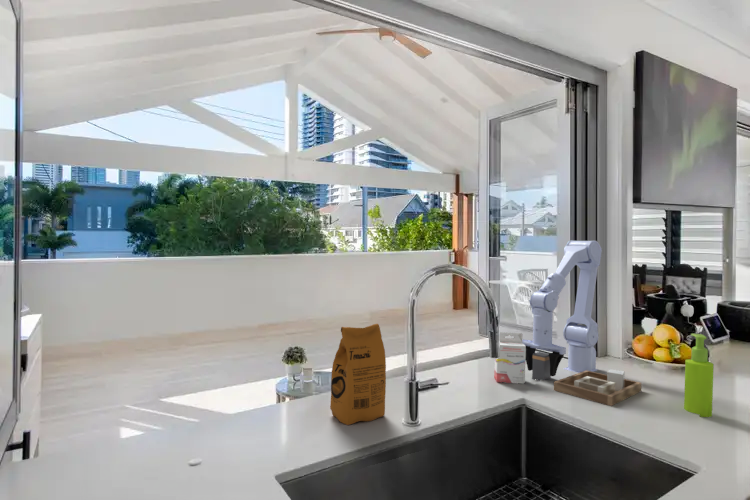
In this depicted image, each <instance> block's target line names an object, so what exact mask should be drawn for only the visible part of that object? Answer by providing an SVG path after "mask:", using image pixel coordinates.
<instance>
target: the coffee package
mask: <svg viewBox="0 0 750 500" xmlns="http://www.w3.org/2000/svg"><path fill="white" fill-rule="evenodd" d="M340 333H341V336H342V337H341V338H340V342H339V345H338V348H337V351H336V353H335V355H334V358H333V361H332V367H331V368H332V369H331V377H330V378H331V381H330V382H331V384H330V405H329V408H330V411H331V415H332V416H333V417H335V418H336V419H337V420H338V422H340V423H341V424H343V425H346V426H349V425H352V424H356V423H357V422H372V421H375V420H377V419H378V418H382V417H384V416H385V415H386V411H385V410H386V389H387V387H386V385H387V382H386V381H387V380H386V379H387V372H386V369H387V364H386V363H387V362H386V361H387V359H386V350H385V347H384V346H385V344H384V342H383V338H382V336H383V335H382V332H381V327H380V324H379V323H374V324H370V325H368V326H365V327H351V326H341V327H340Z"/></svg>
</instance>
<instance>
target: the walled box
mask: <svg viewBox="0 0 750 500" xmlns="http://www.w3.org/2000/svg"><path fill="white" fill-rule="evenodd" d="M553 391H555V392H559V393H562V394H566V395H570V396H574V397H576V398H579V399H585V400H589V401H592V402H594V403H599V404H603V405H607V406H611V407H612V406H614V405H616V404H619V403H621V402H622V401H625V400H627V399H628V398H630V397H633V396H634V395H637V394H639V393H641V392H642V382H640V381H636V380H631V379H627V378H624V388H623V389H621V390H619V391H615V382H610V381H607V374H604V373H600V372H596V371H594V372H592V371H587V370H586V371H583V372H580V373H578V372H576V373H574V374H573V375H569V376H567V377H563V378H561V379H560V378H559V379H557V380H555V381H553Z"/></svg>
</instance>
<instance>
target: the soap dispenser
mask: <svg viewBox="0 0 750 500" xmlns="http://www.w3.org/2000/svg"><path fill="white" fill-rule="evenodd" d="M690 336H691V337H695V346H693V347H691V355H690V356H691V358H689V359H685V361H684V363H685V366H684V367H685V368H684V395H683V397H684V398H683V400H684V401H683V409H684V411H686V412H689V413H692V414H696V415H698V416H699V417H700V418H711V417H712V416H713V395H714V392H713V391H714V363H713V362H710V361H709V360H708V359H709V358H708V356H709V354H708V353H709V349H708V348H706V347H705V340H707V336H706V335H704V334H703V333H690Z"/></svg>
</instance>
